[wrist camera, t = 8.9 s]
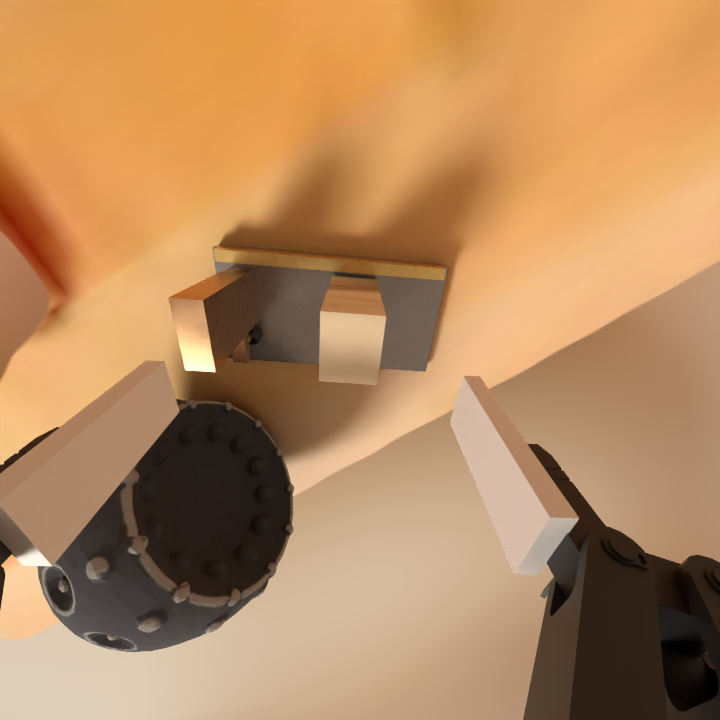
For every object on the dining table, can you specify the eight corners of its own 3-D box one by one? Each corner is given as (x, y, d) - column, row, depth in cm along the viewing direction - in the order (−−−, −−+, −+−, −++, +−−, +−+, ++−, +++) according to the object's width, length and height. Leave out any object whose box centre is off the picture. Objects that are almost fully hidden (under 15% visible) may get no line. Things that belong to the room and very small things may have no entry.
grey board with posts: (218, 245, 26) (135, 269, 16) (445, 264, 27) (495, 298, 17) (233, 352, 31) (176, 420, 22) (423, 366, 32) (452, 436, 23)
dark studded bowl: (201, 353, 31) (2, 542, 14) (314, 461, 39) (280, 669, 22) (138, 398, 34) (-96, 604, 16) (255, 491, 42) (183, 696, 25)
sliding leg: (332, 275, 26) (320, 311, 17) (376, 278, 26) (386, 316, 18) (329, 353, 30) (318, 415, 21) (367, 356, 30) (372, 419, 21)
